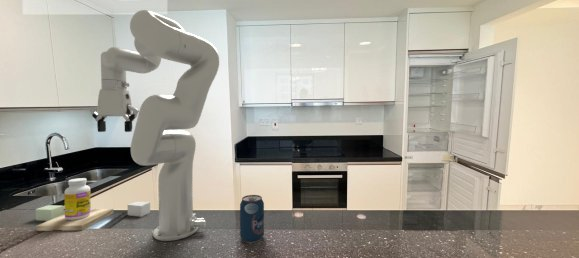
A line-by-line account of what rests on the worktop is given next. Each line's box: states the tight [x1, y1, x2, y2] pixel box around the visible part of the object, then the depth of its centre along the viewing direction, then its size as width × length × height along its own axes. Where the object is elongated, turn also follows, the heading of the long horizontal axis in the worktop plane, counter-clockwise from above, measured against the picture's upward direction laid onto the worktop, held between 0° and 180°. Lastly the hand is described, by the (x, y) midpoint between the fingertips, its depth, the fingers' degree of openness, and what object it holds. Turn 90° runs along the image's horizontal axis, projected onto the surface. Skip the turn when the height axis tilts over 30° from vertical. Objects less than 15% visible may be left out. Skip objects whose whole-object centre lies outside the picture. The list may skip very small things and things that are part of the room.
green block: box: [35, 204, 65, 222], centre depth 84 cm, size 6×4×4 cm, turn 85°
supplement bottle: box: [64, 177, 92, 220], centre depth 82 cm, size 7×7×13 cm
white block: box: [127, 200, 151, 217], centre depth 88 cm, size 6×4×4 cm, turn 78°
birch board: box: [35, 208, 114, 232], centre depth 82 cm, size 14×14×2 cm
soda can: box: [239, 194, 265, 244], centre depth 70 cm, size 7×7×12 cm
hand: (115, 131), depth 90 cm, fingers open, 9 cm apart
